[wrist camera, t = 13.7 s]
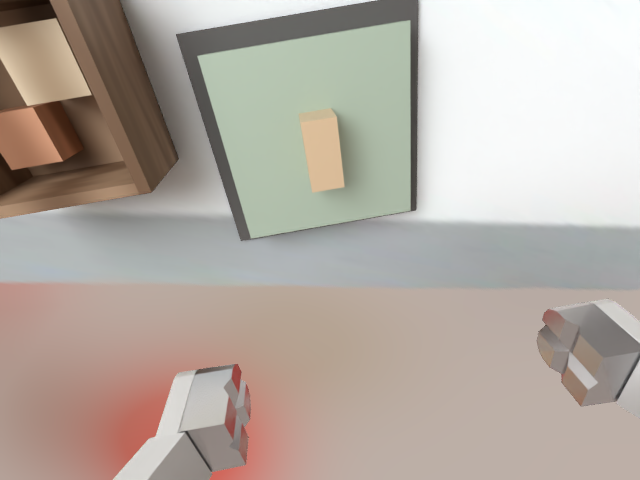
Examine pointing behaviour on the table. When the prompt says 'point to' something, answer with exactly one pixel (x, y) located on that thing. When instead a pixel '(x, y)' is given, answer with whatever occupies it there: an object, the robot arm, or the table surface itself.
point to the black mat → (391, 6)
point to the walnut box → (75, 108)
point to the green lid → (316, 126)
